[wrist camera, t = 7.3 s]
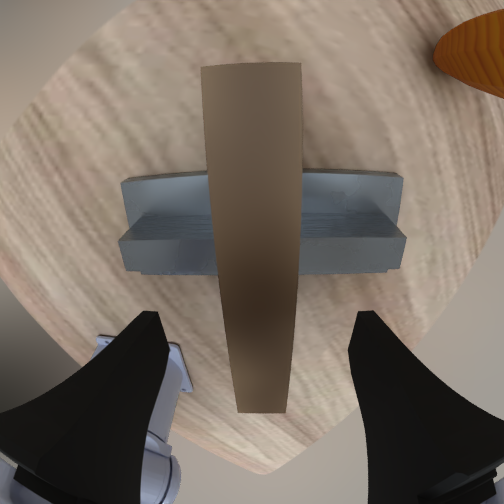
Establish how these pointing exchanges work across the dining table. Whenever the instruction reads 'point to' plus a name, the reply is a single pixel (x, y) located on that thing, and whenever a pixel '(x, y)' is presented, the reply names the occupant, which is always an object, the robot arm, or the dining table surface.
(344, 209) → the stand
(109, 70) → the dining table surface
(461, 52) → the carrot
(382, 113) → the dining table surface
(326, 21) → the dining table surface
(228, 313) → the walnut rod
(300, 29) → the dining table surface
